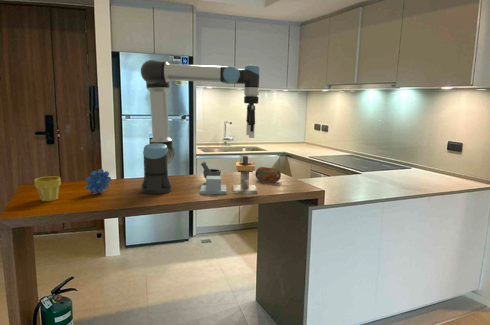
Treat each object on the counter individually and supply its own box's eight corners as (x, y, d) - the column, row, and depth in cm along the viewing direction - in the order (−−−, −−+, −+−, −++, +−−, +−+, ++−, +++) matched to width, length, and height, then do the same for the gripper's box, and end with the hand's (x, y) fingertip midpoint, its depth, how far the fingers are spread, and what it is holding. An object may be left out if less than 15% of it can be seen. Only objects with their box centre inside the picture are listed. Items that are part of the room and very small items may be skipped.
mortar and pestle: (218, 180, 207) (218, 159, 205) (222, 184, 198) (222, 162, 196) (199, 181, 203) (199, 160, 201) (202, 185, 195) (202, 163, 192)
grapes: (110, 189, 180) (109, 166, 178) (112, 193, 175) (111, 169, 173) (85, 192, 175) (83, 168, 173) (86, 195, 169) (85, 171, 167)
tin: (255, 180, 209) (255, 166, 207) (257, 179, 211) (257, 165, 210) (279, 183, 202) (280, 169, 201) (281, 182, 205) (281, 168, 204)
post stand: (233, 193, 179) (233, 158, 176) (232, 187, 191) (233, 154, 188) (257, 193, 180) (258, 158, 177) (254, 187, 192) (255, 154, 188)
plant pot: (33, 199, 162) (31, 178, 160) (57, 195, 169) (56, 175, 167) (39, 204, 154) (38, 182, 153) (65, 199, 162) (63, 178, 160)
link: (236, 170, 178) (236, 165, 178) (235, 166, 187) (235, 162, 187) (254, 170, 179) (254, 165, 179) (253, 167, 188) (253, 162, 188)
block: (200, 194, 176) (200, 180, 175) (201, 187, 189) (201, 174, 188) (226, 194, 177) (226, 180, 176) (226, 187, 190) (226, 174, 189)
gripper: (261, 96, 174) (260, 139, 178) (255, 96, 199) (254, 134, 202) (246, 95, 173) (245, 138, 177) (242, 95, 198) (241, 133, 202)
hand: (250, 136), depth 190 cm, fingers open, 13 cm apart
